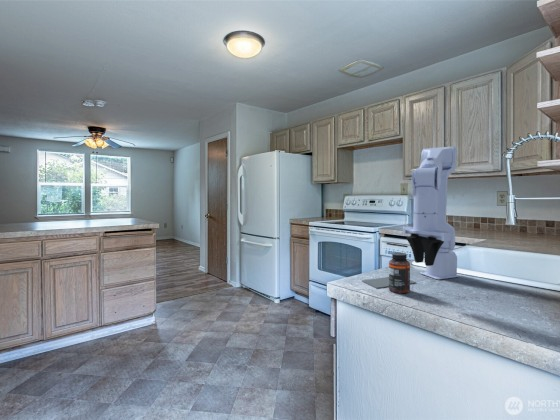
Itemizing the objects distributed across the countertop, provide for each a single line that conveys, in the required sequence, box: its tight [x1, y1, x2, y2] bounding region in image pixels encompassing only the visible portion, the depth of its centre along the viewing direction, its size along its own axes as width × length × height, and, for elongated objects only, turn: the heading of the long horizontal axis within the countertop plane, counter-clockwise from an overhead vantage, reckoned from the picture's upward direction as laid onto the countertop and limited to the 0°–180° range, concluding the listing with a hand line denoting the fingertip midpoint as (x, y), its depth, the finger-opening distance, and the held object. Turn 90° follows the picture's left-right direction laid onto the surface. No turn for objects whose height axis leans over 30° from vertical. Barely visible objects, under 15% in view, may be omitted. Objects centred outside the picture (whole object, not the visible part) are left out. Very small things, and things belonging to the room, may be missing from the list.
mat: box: [361, 276, 417, 289], centre depth 102 cm, size 15×8×1 cm, turn 109°
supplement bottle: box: [388, 251, 411, 294], centre depth 93 cm, size 6×6×11 cm
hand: (424, 263), depth 84 cm, fingers open, 3 cm apart
